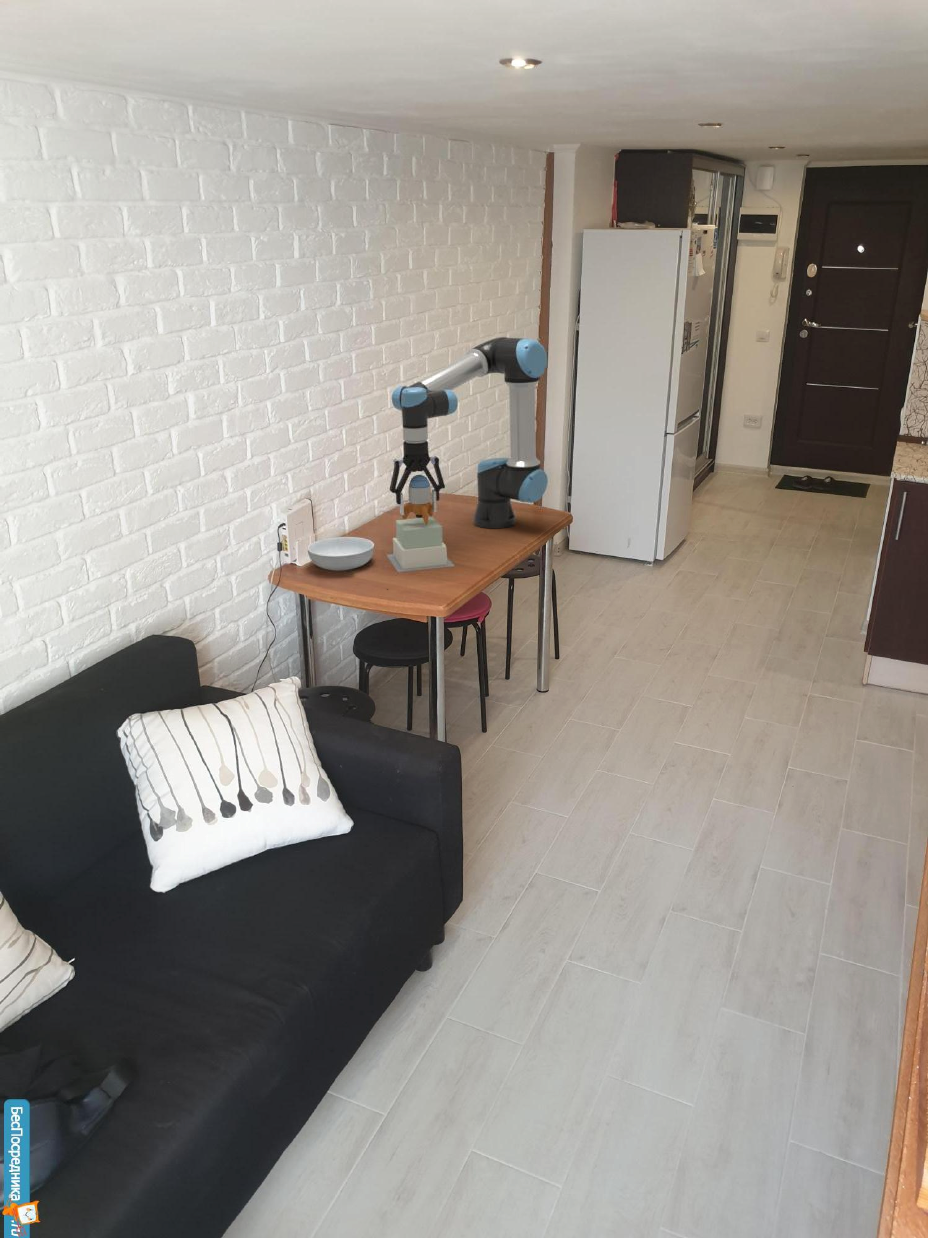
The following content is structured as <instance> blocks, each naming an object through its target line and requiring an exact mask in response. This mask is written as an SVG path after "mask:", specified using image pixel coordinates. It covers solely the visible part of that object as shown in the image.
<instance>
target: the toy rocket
mask: <svg viewBox="0 0 928 1238" xmlns="http://www.w3.org/2000/svg"><path fill="white" fill-rule="evenodd" d="M431 488H432V487H431V483H430V481H429V479H428V478H427V476H426V475H423V474H417V475H414V476H413V477H412V478H411V479H410V481H409V483H408V491H407V492H408V501H409V502H407V504H404V515H401V517H402V520H405V519H407V518H408V516H409V515H410V514H411V513H413V514H414V515H415V517H416V518H423V519H424V522H425V524H428V517H433V514H434V511H433V510H432V502H431V501H432V489H431Z"/></svg>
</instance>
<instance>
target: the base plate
mask: <svg viewBox="0 0 928 1238" xmlns="http://www.w3.org/2000/svg"><path fill="white" fill-rule="evenodd" d="M386 557H387V558H388V560H389V561H390V563H391V564H392V565H393V567H394V569H395V570H396V571H397V573H402V572H411V571H412V572H414V571H421V570H422V571H423V570H431V569H441V568H449V567H451V568H452V567H455V564H453V562H452V561H451V559H449V557H447V565H439V566H430V567H420V568H411V569H402V567H401V566H400V564H399V563H398V561H397V560H396V559H395V557H394V553H390V554H389V553H388V554H386Z"/></svg>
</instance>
